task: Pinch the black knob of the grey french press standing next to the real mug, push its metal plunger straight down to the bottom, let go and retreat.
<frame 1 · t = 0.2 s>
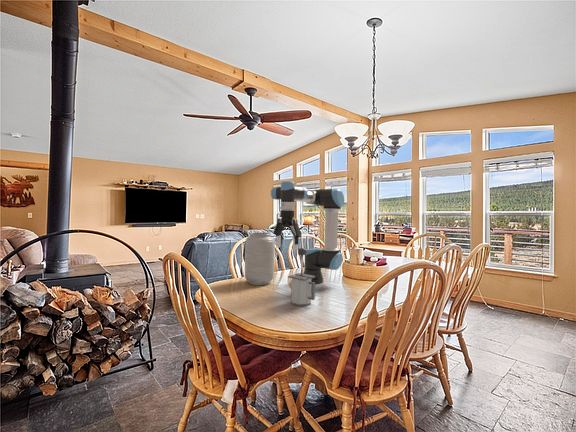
hand: (286, 249, 165), 29 cm above the table, fingers open, 13 cm apart
grey french press: (300, 303, 163), on the table
plunger: (301, 264, 163), point 21 cm above the table, slide at 0.0 cm
mug: (300, 293, 183), on the table
vase: (259, 282, 206), on the table
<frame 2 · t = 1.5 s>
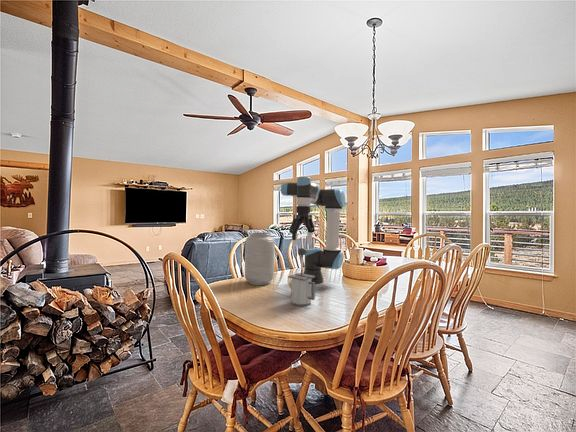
hand: (302, 245, 162), 31 cm above the table, fingers open, 13 cm apart
nothing on the table moved.
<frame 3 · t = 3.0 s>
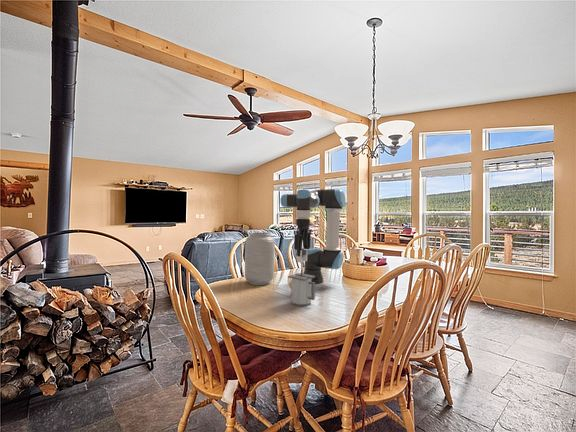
hand: (302, 261, 163), 23 cm above the table, fingers closed on plunger, 4 cm apart
plunger: (301, 264, 163), point 21 cm above the table, slide at 0.0 cm, touching gripper
everything else where it was.
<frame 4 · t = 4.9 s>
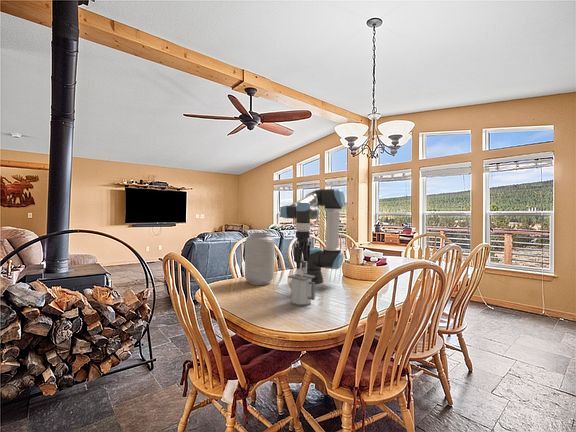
hand: (301, 273, 163), 16 cm above the table, fingers closed on plunger, 4 cm apart
plunger: (301, 276, 163), point 15 cm above the table, slide at 6.7 cm, touching gripper
everything else where it was.
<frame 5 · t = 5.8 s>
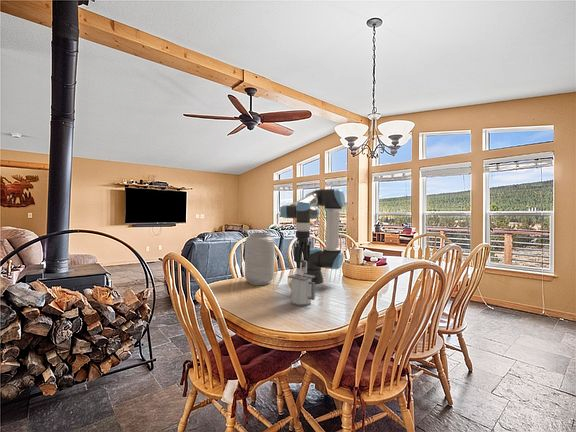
hand: (301, 273, 163), 16 cm above the table, fingers closed on plunger, 4 cm apart
plunger: (301, 276, 163), point 15 cm above the table, slide at 6.5 cm, touching gripper
everything else where it was.
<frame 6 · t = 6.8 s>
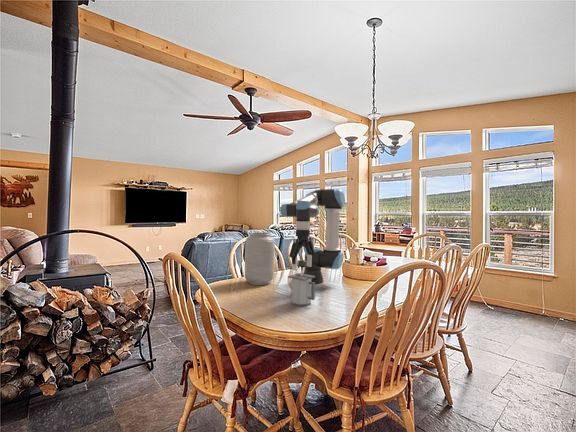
hand: (302, 268, 163), 19 cm above the table, fingers open, 13 cm apart
plunger: (301, 276, 163), point 15 cm above the table, slide at 6.5 cm
everything else where it was.
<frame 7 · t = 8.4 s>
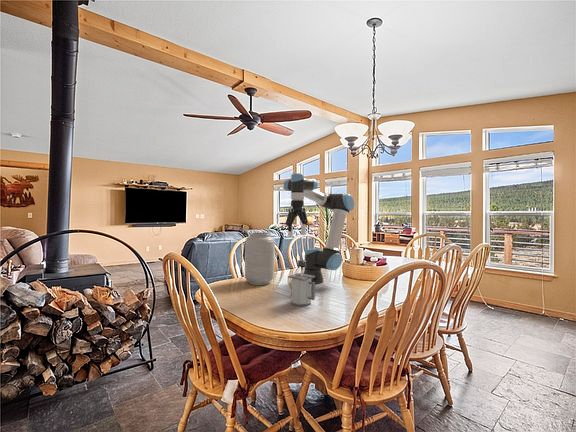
hand: (297, 235, 178), 35 cm above the table, fingers open, 13 cm apart
nothing on the table moved.
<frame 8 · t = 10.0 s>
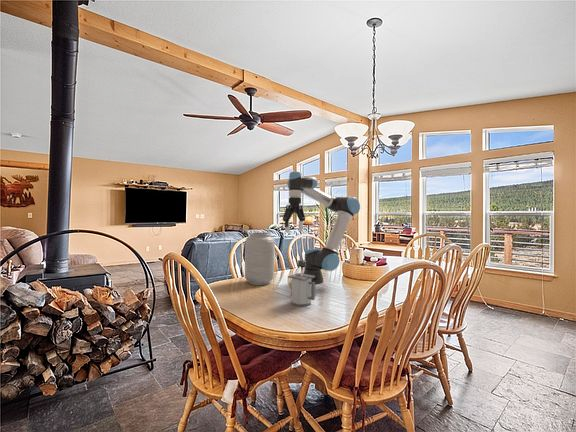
hand: (294, 232, 185), 37 cm above the table, fingers open, 13 cm apart
nothing on the table moved.
at the end: plunger slide at 6.5 cm; the gripper is holding nothing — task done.
